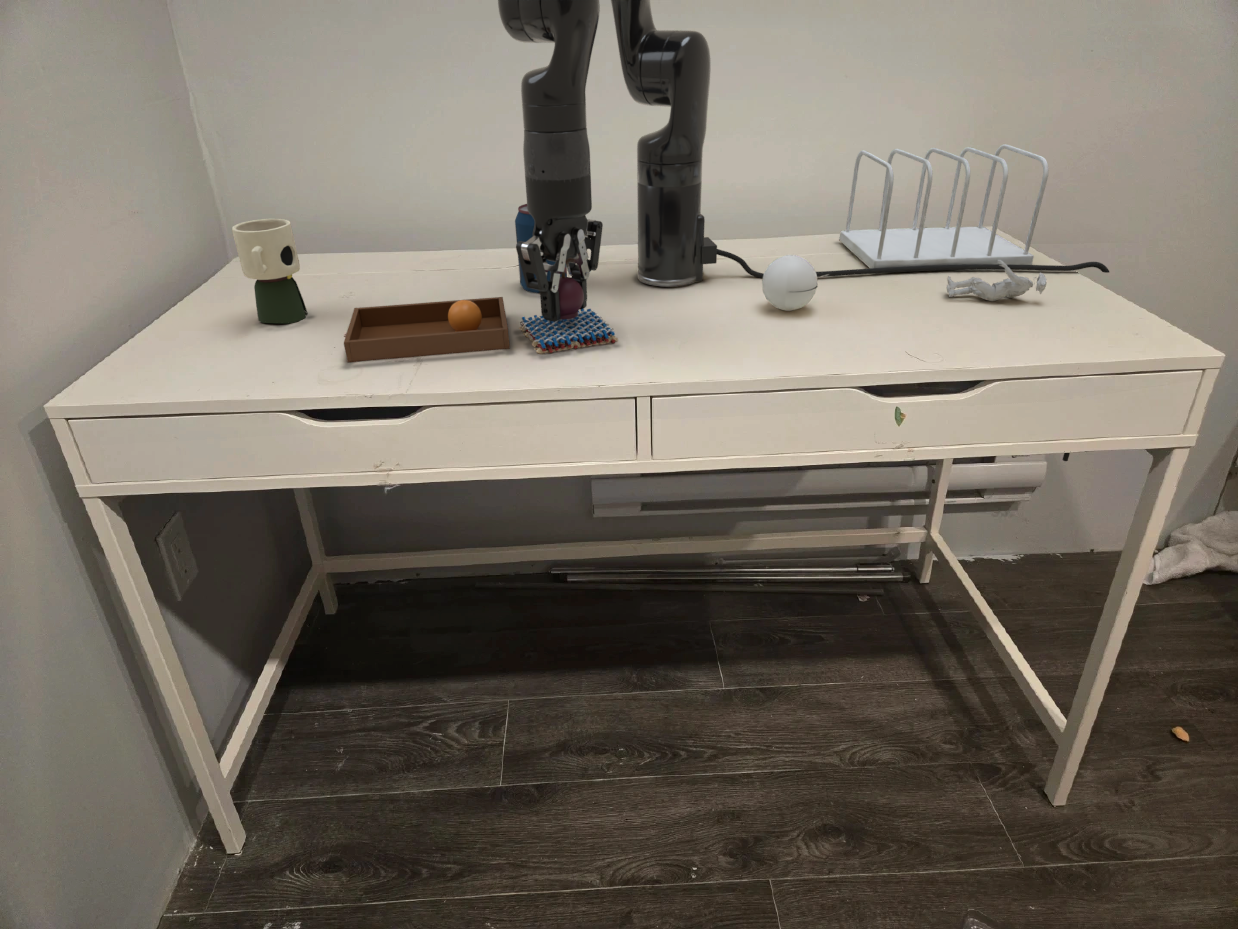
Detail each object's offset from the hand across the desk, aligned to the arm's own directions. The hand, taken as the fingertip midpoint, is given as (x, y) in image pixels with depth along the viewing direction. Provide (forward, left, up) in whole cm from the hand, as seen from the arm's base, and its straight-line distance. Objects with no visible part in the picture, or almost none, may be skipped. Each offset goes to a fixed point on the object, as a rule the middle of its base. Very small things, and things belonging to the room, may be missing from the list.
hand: (565, 312), depth 101 cm
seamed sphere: (-32, -4, -4) cm, 33 cm away
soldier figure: (-59, -1, -4) cm, 59 cm away
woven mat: (0, 0, -4) cm, 4 cm away
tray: (+17, -3, -3) cm, 18 cm away
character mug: (+37, -15, -4) cm, 40 cm away
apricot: (+12, -4, -3) cm, 13 cm away
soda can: (+1, -20, -4) cm, 20 cm away
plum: (0, 0, 0) cm, 0 cm away
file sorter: (-62, -23, -4) cm, 66 cm away
